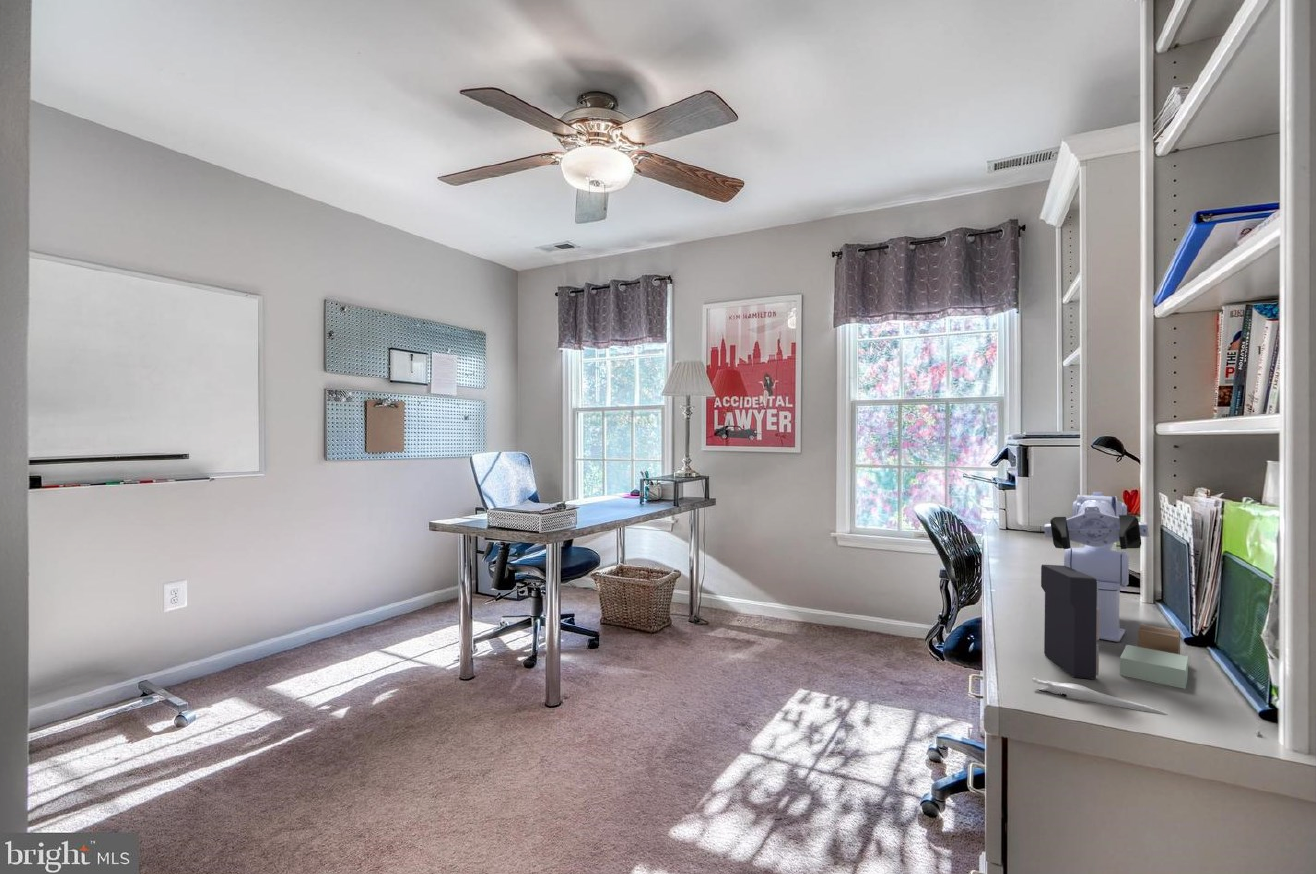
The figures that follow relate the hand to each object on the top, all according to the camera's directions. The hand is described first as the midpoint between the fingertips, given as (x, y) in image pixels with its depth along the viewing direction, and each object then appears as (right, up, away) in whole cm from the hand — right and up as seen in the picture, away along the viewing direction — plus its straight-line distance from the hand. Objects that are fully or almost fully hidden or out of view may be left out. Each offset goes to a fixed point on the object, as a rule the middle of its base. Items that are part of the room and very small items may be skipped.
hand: (1093, 542), depth 100 cm
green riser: (+6, -20, -5) cm, 21 cm away
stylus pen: (-11, -19, -16) cm, 27 cm away
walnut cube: (+12, -19, +1) cm, 23 cm away
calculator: (-6, -19, -3) cm, 20 cm away
